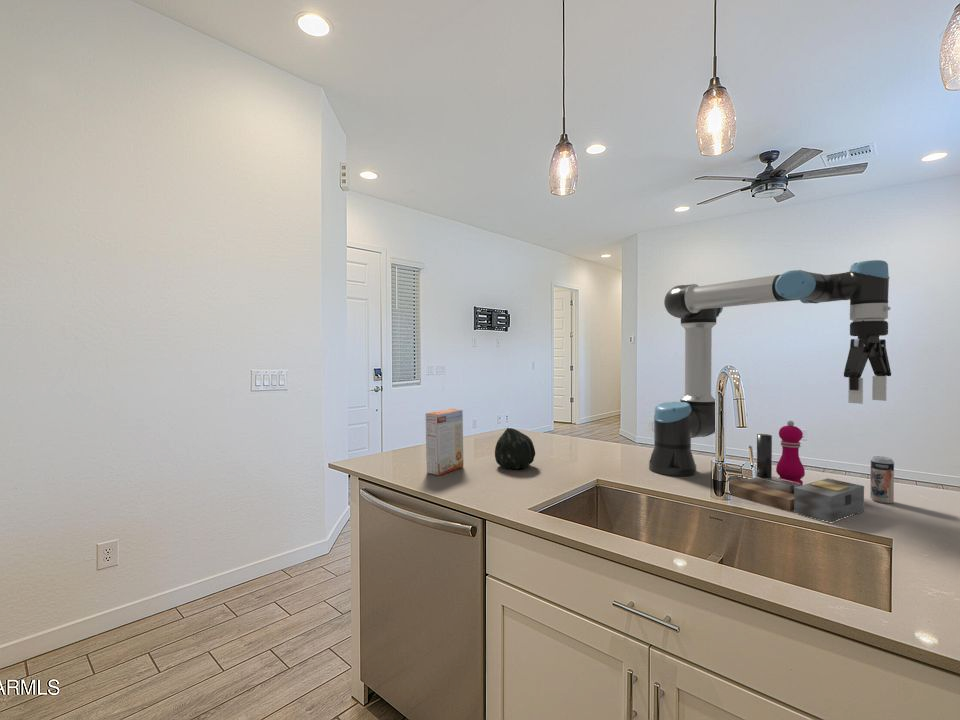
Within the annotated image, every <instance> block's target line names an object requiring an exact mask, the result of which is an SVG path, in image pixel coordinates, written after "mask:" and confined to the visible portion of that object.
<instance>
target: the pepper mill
mask: <svg viewBox="0 0 960 720" xmlns="http://www.w3.org/2000/svg"><path fill="white" fill-rule="evenodd" d="M786 424H787V425H783V426H782V427H780V428H779V430H778V435H779V436H778V437H779V438H780V439H781V440H780V445H781V449H782V450H781V451H782V453H781V456H780V458H779V460H778V462H777V464H776V466H775V467H776V468H775V472H776V474H778V476H779V477H778V478H780V479H784V480H788V481H793V482H797V483H800V484H801V485H804V483H803V482H804V481H803V480H801V479H803V478H804V477H805V474H806V472H805V468H804V464H803V463H802V461H801V458H800V455H799V448H801V442H800V441H801V440H802V439H803V435H804V434H803V432H802V430H801V429H800V428H799V427H798V426H796V425H795V422H794V421H793V420H788V421H787V422H786Z"/></svg>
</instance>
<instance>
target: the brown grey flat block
mask: <svg viewBox="0 0 960 720" xmlns="http://www.w3.org/2000/svg"><path fill="white" fill-rule="evenodd" d="M755 473H756V474H757V472H755ZM772 477H773V478H778V479H780V478H779V477H775V476H772ZM782 480H784V479H782ZM728 481H729V480H728ZM786 481H788V480H786ZM790 482H793V481H790ZM795 483H797V482H795ZM799 484H800V483H799ZM729 491H730V493H731V494H730V495H731V496H735V497H738V498H742V499H745V500H749V501H752V502H755V503H759V504H763V505H766V506H769V505H770V507H772V506H773V508H777V509H779V508H780V509H779V510H782V511H786V510H787V511H786V512H789V511H790V512H793V513H794V512H795V513H794V514H796V513H798V514H797V515H800V514H802V515H801V516H803V515H805V516H804V517H807V516H808V517H807V518H810V517H812V518H811V519H814V518H816V519H815V520H817V519H820V520H819V521H821V520H824V521H828V522H833V521H836V520H838V519H841V518H844V517H847V516H850V515H852V514H855V513H857V514H859V513H858V512H860V513H862V512H861V511H863V512H864V509H865V486H864V485H862V484H861V485H860V484H856V483H851V482H848V481H843V480H837V479H832V478H828V477H827V478H823V479H820V480H817V481H813V482H810V483H806V484H803V485H801V486H798V487H795V488H794V492H793V491H792V485H789V484H785V483H780V482H776V481H772V480H768V479H764V478H760V477H755V478H754V479H748V478H743V477H737V478H734V479H730V481H729ZM792 510H793V511H792ZM855 515H856V514H855ZM852 516H853V515H852ZM850 517H851V516H850ZM847 518H848V517H847ZM844 519H845V518H844ZM824 521H823V522H824ZM836 522H837V521H836Z"/></svg>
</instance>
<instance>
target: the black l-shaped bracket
mask: <svg viewBox="0 0 960 720" xmlns="http://www.w3.org/2000/svg"><path fill="white" fill-rule="evenodd" d="M772 454H773V435H771V434H767V433H757V434H756V473H757V474H756V477H760V478H764V479H768V480H772V481H776V482H780V483H785V484H789V485H792V491H793V492H794V488H795V487H798V486H801V484H799V483H795V482H790V481H786V480H782V479H778V478H779V477H776V478H773V477H774V476H773V475H772V471H773V470H772V468H773V464H772V462H773V455H772Z"/></svg>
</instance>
